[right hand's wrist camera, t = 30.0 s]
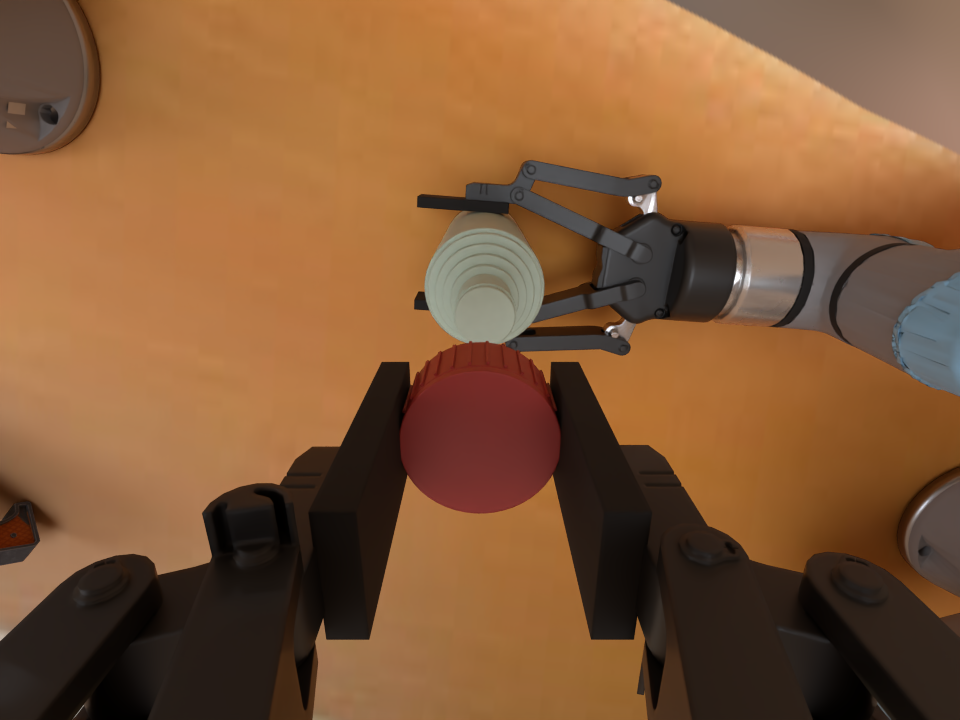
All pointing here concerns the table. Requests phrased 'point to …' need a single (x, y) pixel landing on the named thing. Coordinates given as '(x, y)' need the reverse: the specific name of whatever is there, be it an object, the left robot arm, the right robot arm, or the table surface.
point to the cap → (480, 428)
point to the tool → (18, 533)
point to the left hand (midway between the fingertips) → (418, 252)
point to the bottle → (484, 279)
